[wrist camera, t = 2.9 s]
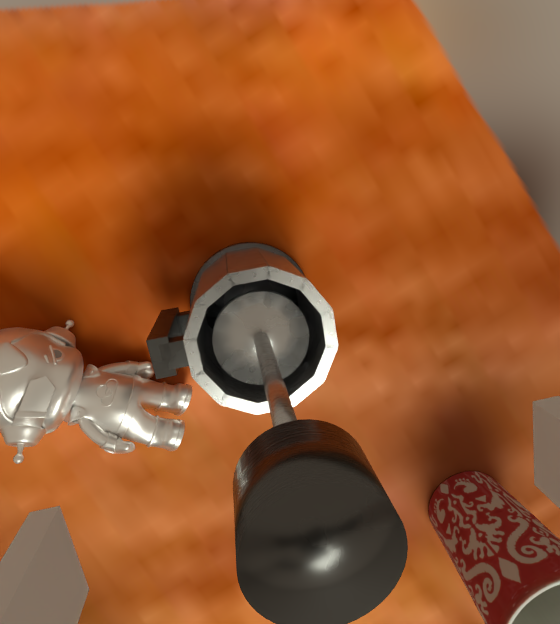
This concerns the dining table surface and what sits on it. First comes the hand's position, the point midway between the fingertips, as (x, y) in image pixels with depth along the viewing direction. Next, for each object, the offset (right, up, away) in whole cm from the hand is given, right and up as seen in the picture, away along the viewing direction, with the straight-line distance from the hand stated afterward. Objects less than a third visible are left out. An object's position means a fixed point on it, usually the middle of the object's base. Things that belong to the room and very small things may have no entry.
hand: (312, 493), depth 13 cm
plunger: (-2, +3, +15) cm, 15 cm away
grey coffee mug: (-3, +6, +23) cm, 24 cm away
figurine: (-16, 0, +24) cm, 28 cm away
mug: (+18, -14, +32) cm, 39 cm away
